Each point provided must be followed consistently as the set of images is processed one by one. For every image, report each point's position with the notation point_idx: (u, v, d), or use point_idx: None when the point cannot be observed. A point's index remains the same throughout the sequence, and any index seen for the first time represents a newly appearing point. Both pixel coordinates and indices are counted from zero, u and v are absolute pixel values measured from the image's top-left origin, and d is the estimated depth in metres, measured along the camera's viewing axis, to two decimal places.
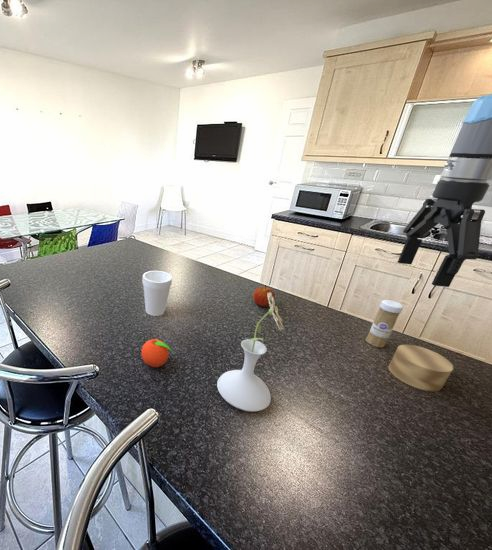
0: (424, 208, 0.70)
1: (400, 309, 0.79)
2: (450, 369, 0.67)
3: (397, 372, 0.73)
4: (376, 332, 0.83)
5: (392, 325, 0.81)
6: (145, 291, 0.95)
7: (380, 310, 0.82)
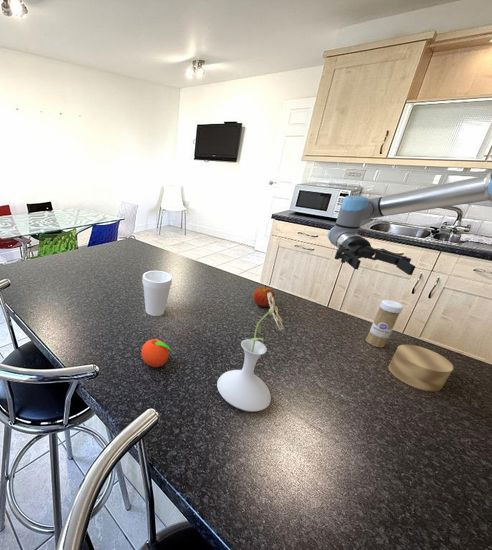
0: None
1: (400, 309, 0.79)
2: (450, 369, 0.67)
3: (397, 372, 0.73)
4: (376, 332, 0.83)
5: (392, 325, 0.81)
6: (145, 291, 0.95)
7: (380, 310, 0.82)
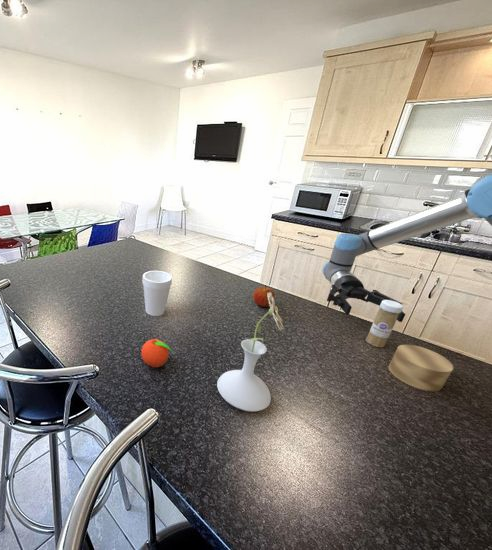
0: None
1: (400, 309, 0.79)
2: (450, 369, 0.67)
3: (397, 372, 0.73)
4: (376, 332, 0.83)
5: (392, 325, 0.81)
6: (145, 291, 0.95)
7: (380, 310, 0.82)
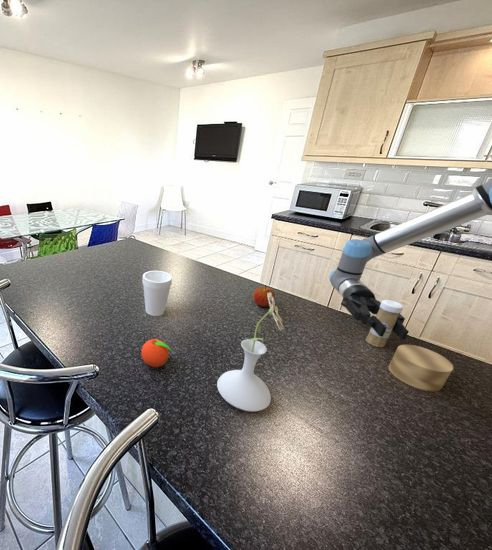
0: None
1: (400, 309, 0.79)
2: (450, 369, 0.67)
3: (397, 372, 0.73)
4: None
5: (392, 325, 0.81)
6: (145, 291, 0.95)
7: (380, 310, 0.82)
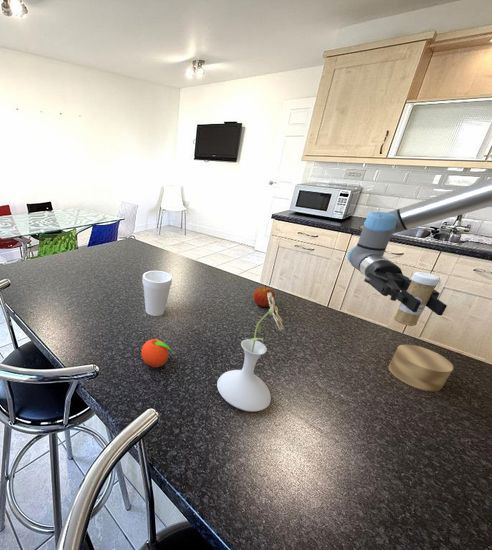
0: None
1: (436, 281, 0.69)
2: (450, 369, 0.67)
3: (397, 372, 0.73)
4: (407, 308, 0.74)
5: (426, 300, 0.72)
6: (145, 291, 0.95)
7: (412, 283, 0.73)
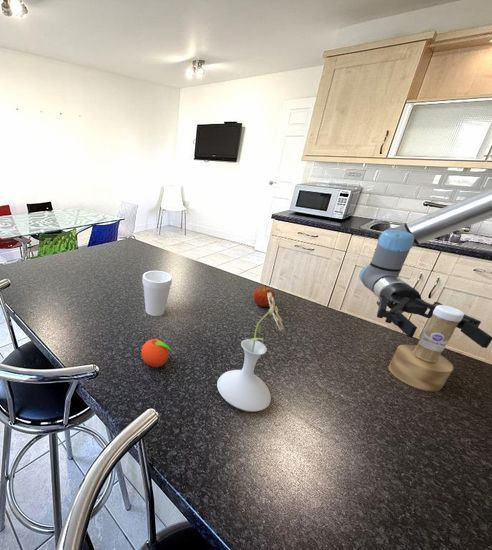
0: None
1: (461, 317, 0.64)
2: (450, 369, 0.67)
3: (397, 372, 0.73)
4: (428, 344, 0.68)
5: (449, 336, 0.66)
6: (145, 291, 0.95)
7: (434, 318, 0.67)
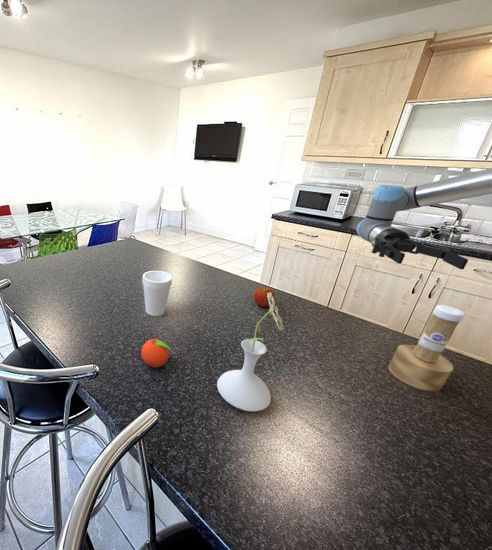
0: None
1: (461, 317, 0.64)
2: (450, 369, 0.67)
3: (397, 372, 0.73)
4: (428, 344, 0.68)
5: (449, 336, 0.66)
6: (145, 291, 0.95)
7: (434, 318, 0.67)
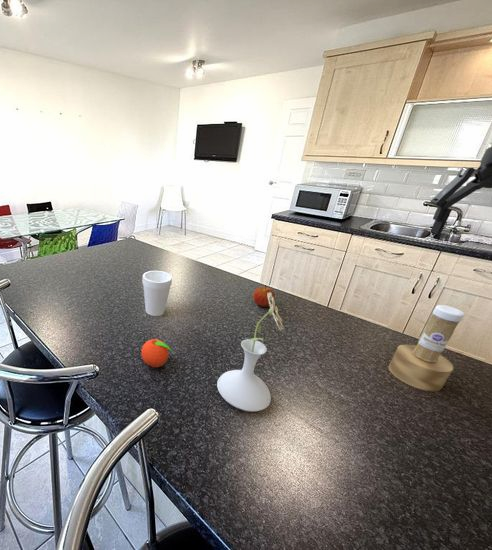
0: None
1: (461, 317, 0.64)
2: (450, 369, 0.67)
3: (397, 372, 0.73)
4: (428, 344, 0.68)
5: (449, 336, 0.66)
6: (145, 291, 0.95)
7: (434, 318, 0.67)
